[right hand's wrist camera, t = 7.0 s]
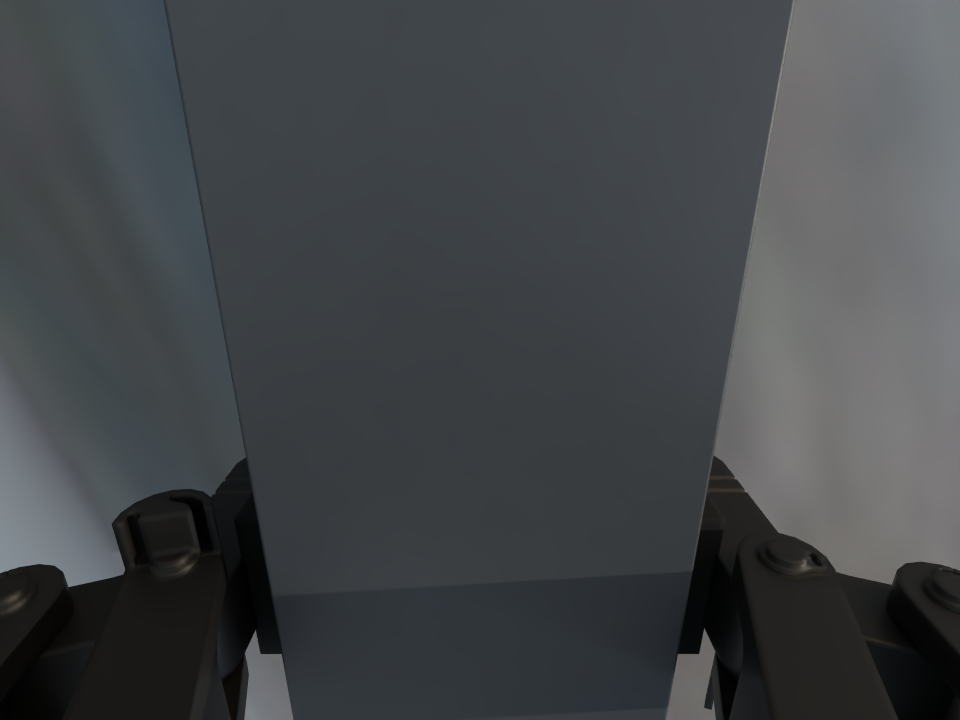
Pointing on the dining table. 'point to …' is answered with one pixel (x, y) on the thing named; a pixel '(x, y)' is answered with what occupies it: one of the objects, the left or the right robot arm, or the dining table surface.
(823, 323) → the dining table surface
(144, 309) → the dining table surface
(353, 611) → the bar
